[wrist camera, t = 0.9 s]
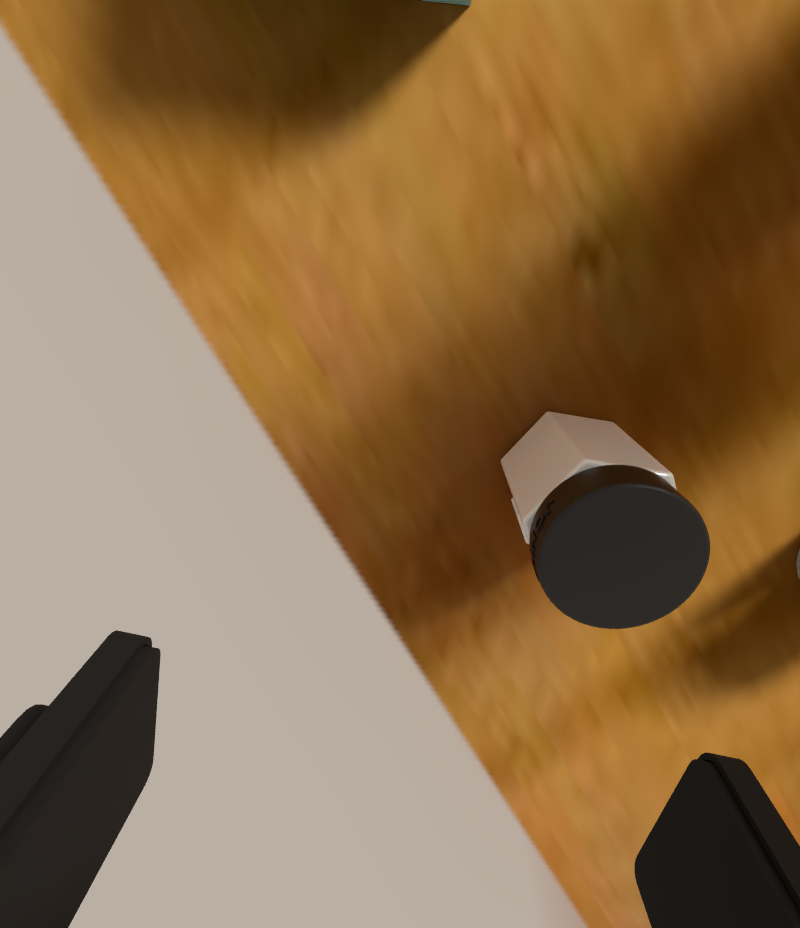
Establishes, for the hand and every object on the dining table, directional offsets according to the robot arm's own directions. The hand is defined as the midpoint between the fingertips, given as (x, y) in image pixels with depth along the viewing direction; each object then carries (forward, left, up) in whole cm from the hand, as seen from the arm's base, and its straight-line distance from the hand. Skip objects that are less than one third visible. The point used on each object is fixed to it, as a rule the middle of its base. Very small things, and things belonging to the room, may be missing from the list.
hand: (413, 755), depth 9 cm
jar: (-1, +11, -28) cm, 30 cm away
